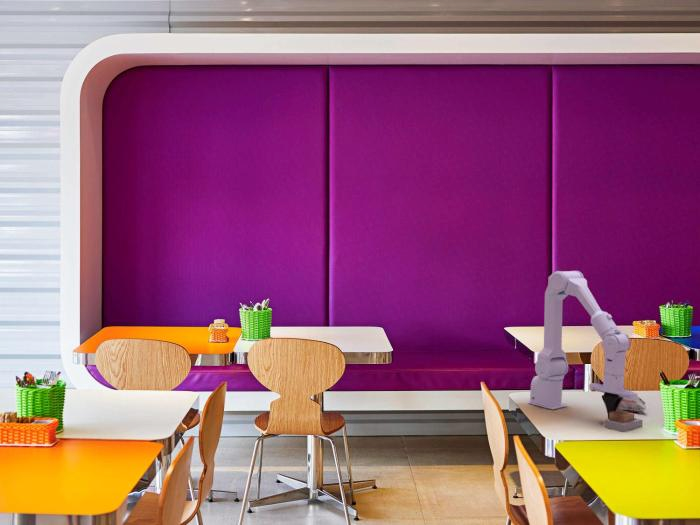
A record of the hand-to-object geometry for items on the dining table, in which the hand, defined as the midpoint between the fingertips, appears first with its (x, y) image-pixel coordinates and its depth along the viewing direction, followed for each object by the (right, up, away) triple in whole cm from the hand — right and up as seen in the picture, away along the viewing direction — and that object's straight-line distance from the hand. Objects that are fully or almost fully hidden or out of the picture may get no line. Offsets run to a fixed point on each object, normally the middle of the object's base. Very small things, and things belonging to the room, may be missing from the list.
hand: (611, 418), depth 227 cm
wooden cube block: (+2, -2, -3) cm, 4 cm away
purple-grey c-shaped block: (+3, -2, -3) cm, 4 cm away
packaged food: (+10, -1, +17) cm, 20 cm away
